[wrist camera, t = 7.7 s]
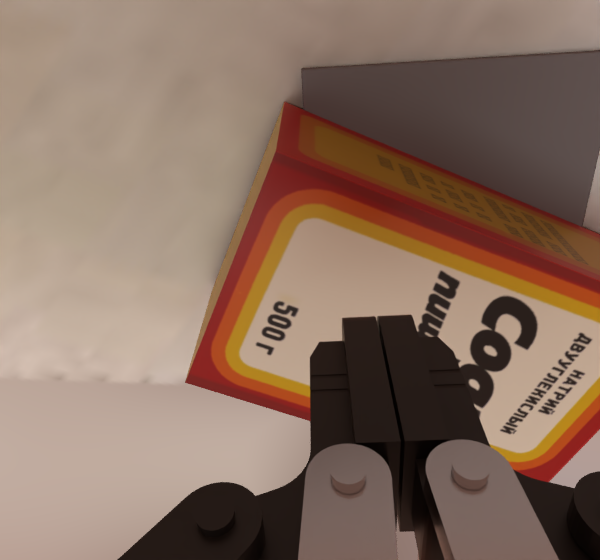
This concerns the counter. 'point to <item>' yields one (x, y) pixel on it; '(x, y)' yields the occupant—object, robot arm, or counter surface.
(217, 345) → the baking soda box
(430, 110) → the mat
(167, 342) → the counter surface
